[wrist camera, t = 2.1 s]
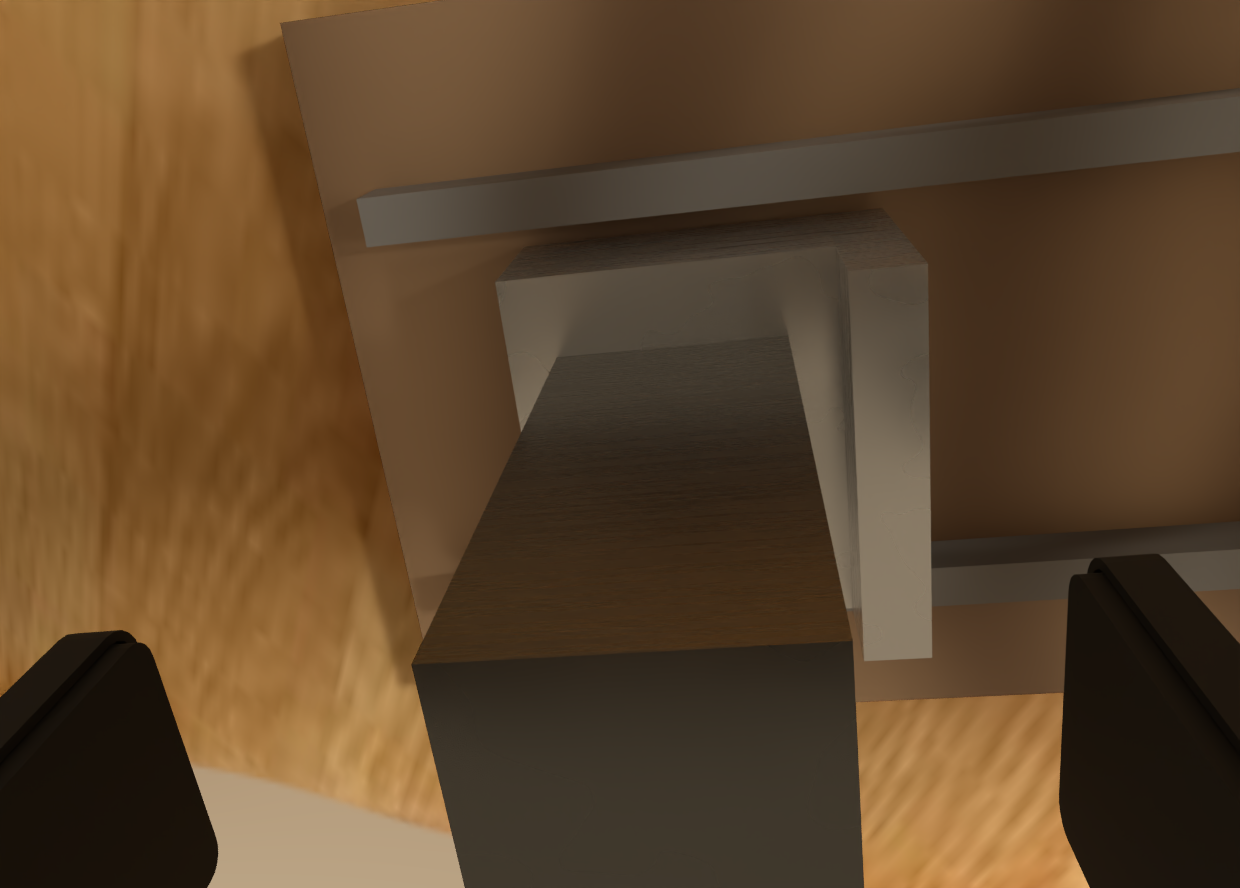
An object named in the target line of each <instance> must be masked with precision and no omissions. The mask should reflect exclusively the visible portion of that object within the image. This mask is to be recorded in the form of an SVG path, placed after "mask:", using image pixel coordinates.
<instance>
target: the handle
mask: <svg viewBox="0 0 1240 888" xmlns="http://www.w3.org/2000/svg"><path fill="white" fill-rule="evenodd" d="M495 285H496V291H497V297H498V302H499V308H500V314H501V320H502V325H503V331H504V337H505V343H506V348H507V354H508V360H509V366H510V371H511V377H512V383H513V389H514V394H515V400H516V406H517V412H518V418H519V423H520V429H521V434H520V436H519V438H518V440H517V442H516V444H515V447H514V449H513V451H512V453H511V455H510V457H509V459H508V461H507V464H506V466H505V468H504V470H503V472H502V474H501V476H500V478H499V480H498V483H497V485H496V487H495V489H494V491H493V493H492V495H491V497H490V499H489V502H488V504H487V506H486V508H485V510H484V512H483V514H482V516H481V519H480V521H479V523H478V525H477V527H476V529H475V531H474V533H473V535H472V538H471V540H470V542H469V544H468V546H467V548H466V550H465V552H464V555H463V557H462V559H461V561H460V563H459V565H458V567H457V569H456V571H455V574H454V576H453V578H452V580H451V582H450V584H449V586H448V588H447V591H446V593H445V595H444V597H443V599H442V601H441V603H440V605H439V607H438V610H437V612H436V614H435V616H434V618H433V620H432V622H431V624H430V626H429V629H428V631H427V633H426V635H425V637H424V639H423V641H422V643H421V646H420V648H419V650H418V652H417V654H416V656H415V658H414V660H413V662H412V669H413V673H414V677H415V681H416V685H417V690H418V694H419V698H420V702H421V706H422V710H423V715H424V719H425V723H426V727H427V731H428V735H429V740H430V744H431V748H432V752H433V756H434V761H435V765H436V769H437V773H438V777H439V781H440V786H441V790H442V794H443V798H444V802H445V807H446V811H447V815H448V819H449V823H450V827H451V832H452V836H453V840H454V844H455V848H456V852H457V857H458V861H459V865H460V869H461V873H462V878H463V882H464V886H465V888H864V877H863V855H862V833H861V811H860V788H859V766H858V744H857V722H856V699H855V677H854V655H853V639H852V634H851V630H850V625H849V620H848V615H847V611H846V608H852V609H853V613H854V618H855V622H856V627H857V631H858V636H859V640H860V645H861V649H862V654H863V658H864V661H879V660H898V659H918V658H932V595H931V500H930V406H929V311H928V263H927V262H926V260H925V259H924V258H923V257H922V256H921V254H920V253H919V252H918V251H917V249H916V248H915V247H914V246H913V245H912V243H911V242H910V241H909V240H908V239H907V237H906V236H905V235H904V234H903V232H902V231H901V230H900V229H899V228H898V226H897V225H896V224H895V223H894V222H893V220H892V219H891V218H890V217H889V216H888V214H887V213H886V212H885V211H884V209H883V208H879V209H870V210H861V211H851V212H842V213H833V214H823V215H814V216H805V217H795V218H786V219H777V220H767V221H758V222H749V223H740V224H730V225H721V226H712V227H702V228H693V229H684V230H674V231H665V232H656V233H646V234H637V235H628V236H618V237H609V238H600V239H591V240H581V241H572V242H563V243H553V244H544V245H535V246H525V247H524V248H523V249H522V250H521V251H520V253H519V254H518V255H517V256H516V257H515V259H514V260H513V261H512V262H511V263H510V265H509V266H508V267H507V268H506V269H505V271H504V272H503V273H502V274H501V275H500V277H499V278H498V279H497V280H496V281H495Z"/></svg>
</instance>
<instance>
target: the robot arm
mask: <svg viewBox="0 0 1240 888" xmlns="http://www.w3.org/2000/svg"><path fill="white" fill-rule="evenodd" d="M1059 805H1060V813H1061V818H1062V823H1063V827H1064V830H1065V833H1066V836H1067V839H1068V841H1069V843H1070V845H1071V848H1072V850H1073V852H1074V854H1075V856H1076V859H1077V861H1078V863H1079V865H1080V867H1081V869H1082V872H1083V874H1084V876H1085V878H1086V880H1087V882H1088V885H1089V887H1090V888H1240V643H1239V642H1238V641H1237V640H1236V639H1235V638H1234V637H1233V636H1232V634H1231V633H1230V632H1229V631H1228V630H1227V629H1226V628H1225V626H1224V625H1223V624H1222V623H1221V622H1220V621H1219V620H1218V619H1217V617H1216V616H1215V615H1214V614H1213V613H1212V612H1211V611H1210V609H1209V608H1208V607H1207V606H1206V605H1205V604H1204V603H1203V601H1202V600H1201V599H1200V598H1199V597H1198V596H1197V595H1196V594H1195V592H1194V591H1193V590H1192V589H1191V588H1190V587H1189V586H1188V584H1187V583H1186V582H1185V581H1184V580H1183V579H1182V578H1181V577H1180V575H1179V574H1178V573H1177V572H1176V571H1175V570H1174V569H1173V567H1172V566H1171V565H1170V564H1169V563H1168V562H1167V561H1166V559H1165V558H1163V557H1162V556H1161V555H1159V554H1139V555H1126V556H1112V557H1099V558H1094V559H1093V560H1092V561H1091V562H1090V565H1089V567H1088V571H1087V574H1074V575H1073V576H1072V577H1071V580H1070V582H1069V590H1068V611H1067V633H1066V655H1065V677H1064V699H1063V721H1062V744H1061V766H1060V788H1059ZM217 858H218V844H217V840H216V837H215V833H214V830H213V828H212V825H211V822H210V819H209V816H208V813H207V810H206V807H205V804H204V801H203V799H202V796H201V793H200V790H199V787H198V784H197V781H196V778H195V776H194V773H193V770H192V767H191V764H190V761H189V758H188V755H187V752H186V749H185V747H184V744H183V741H182V738H181V735H180V732H179V729H178V726H177V723H176V721H175V718H174V715H173V712H172V709H171V706H170V703H169V700H168V697H167V695H166V692H165V689H164V686H163V683H162V680H161V677H160V674H159V671H158V669H157V666H156V663H155V660H154V657H153V655H152V653H151V651H150V649H149V648H148V647H147V646H146V645H145V644H143V643H137V641H136V639H135V638H134V637H133V636H132V635H131V634H130V633H128V632H126V631H123V630H117V631H104V632H91V633H77V634H70V635H66V636H65V637H63V638H62V639H60V640H59V641H58V642H57V643H56V644H55V645H54V646H53V647H52V648H51V649H50V650H49V651H48V652H47V653H46V654H45V655H43V656H42V657H41V658H40V659H39V660H38V661H37V662H36V663H35V664H34V665H33V666H32V667H31V668H30V669H29V670H28V671H27V672H26V673H25V674H24V675H23V676H22V677H21V678H20V679H19V680H18V681H17V682H16V683H15V684H14V685H13V686H12V687H11V688H10V689H9V690H8V691H7V692H5V693H4V694H3V695H2V696H1V697H0V888H207V887H208V885H209V883H210V882H211V880H212V877H213V875H214V873H215V870H216V866H217V860H218V859H217Z"/></svg>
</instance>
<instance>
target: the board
mask: <svg viewBox="0 0 1240 888" xmlns="http://www.w3.org/2000/svg"><path fill="white" fill-rule="evenodd" d="M280 24H281V29H282V33H283V37H284V42H285V46H286V50H287V55H288V59H289V63H290V68H291V72H292V76H293V81H294V85H295V89H296V94H297V98H298V102H299V106H300V111H301V115H302V119H303V124H304V128H305V132H306V137H307V141H308V145H309V150H310V154H311V158H312V163H313V167H314V171H315V175H316V180H317V184H318V188H319V193H320V197H321V201H322V206H323V210H324V214H325V219H326V223H327V227H328V232H329V236H330V240H331V245H332V249H333V253H334V257H335V262H336V266H337V270H338V275H339V279H340V283H341V288H342V292H343V296H344V301H345V305H346V309H347V314H348V318H349V322H350V327H351V331H352V335H353V339H354V344H355V348H356V352H357V357H358V361H359V365H360V370H361V374H362V378H363V383H364V387H365V391H366V396H367V400H368V404H369V409H370V413H371V417H372V421H373V426H374V430H375V434H376V439H377V443H378V447H379V452H380V456H381V460H382V465H383V469H384V473H385V478H386V482H387V486H388V490H389V495H390V499H391V503H392V508H393V512H394V516H395V521H396V525H397V529H398V534H399V538H400V542H401V547H402V551H403V555H404V560H405V564H406V568H407V572H408V577H409V581H410V585H411V590H412V594H413V598H414V603H415V607H416V611H417V616H418V620H419V624H420V629H421V633H422V637H423V639H424V637H425V635H426V633H427V631H428V629H429V626H430V624H431V622H432V620H433V618H434V616H435V614H436V612H437V610H438V607H439V605H440V603H441V601H442V599H443V597H444V595H445V593H446V591H447V588H448V586H449V584H450V582H451V580H452V578H453V576H454V574H455V571H456V569H457V567H458V565H459V563H460V561H461V559H462V557H463V555H464V552H465V550H466V548H467V546H468V544H469V542H470V540H471V538H472V535H473V533H474V531H475V529H476V527H477V525H478V523H479V521H480V519H481V516H482V514H483V512H484V510H485V508H486V506H487V504H488V502H489V499H490V497H491V495H492V493H493V491H494V489H495V487H496V485H497V483H498V480H499V478H500V476H501V474H502V472H503V470H504V468H505V466H506V464H507V461H508V459H509V457H510V455H511V453H512V451H513V449H514V447H515V444H516V442H517V440H518V438H519V436H520V434H521V429H520V423H519V418H518V412H517V406H516V400H515V394H514V389H513V383H512V377H511V371H510V366H509V360H508V354H507V348H506V343H505V337H504V331H503V325H502V320H501V314H500V308H499V302H498V297H497V291H496V285H495V281H496V280H497V279H498V278H499V277H500V275H501V274H502V273H503V272H504V271H505V269H506V268H507V267H508V266H509V265H510V263H511V262H512V261H513V260H514V259H515V257H516V256H517V255H518V254H519V253H520V251H521V250H522V249H523V248H524V247H525V246H535V245H544V244H553V243H563V242H572V241H581V240H591V239H600V238H609V237H618V236H628V235H637V234H646V233H656V232H665V231H674V230H684V229H693V228H702V227H712V226H721V225H730V224H740V223H749V222H758V221H767V220H777V219H786V218H795V217H805V216H814V215H823V214H833V213H842V212H851V211H861V210H870V209H879V208H883V209H884V211H885V212H886V213H887V214H888V216H889V217H890V218H891V219H892V220H893V222H894V223H895V224H896V225H897V226H898V228H899V229H900V230H901V231H902V232H903V234H904V235H905V236H906V237H907V239H908V240H909V241H910V242H911V243H912V245H913V246H914V247H915V248H916V249H917V251H918V252H919V253H920V254H921V256H922V257H923V258H924V259H925V260H926V262H927V263H928V311H929V406H930V500H931V595H932V658H918V659H898V660H879V661H864V658H863V654H862V649H861V645H860V640H859V636H858V631H857V627H856V622H855V618H854V613H853V609H852V608H846V611H847V615H848V620H849V625H850V630H851V634H852V639H853V655H854V677H855V699H856V702H870V701H892V700H914V699H935V698H957V697H979V696H1001V695H1022V694H1044V693H1064V677H1065V655H1066V633H1067V611H1068V590H1069V582H1070V580H1071V577H1072V576H1073V575H1074V574H1087V571H1088V567H1089V565H1090V562H1091V561H1092V560H1093V559H1094V558H1099V557H1112V556H1126V555H1139V554H1159V555H1161V556H1162V557H1163V558H1165V559H1166V561H1167V562H1168V563H1169V564H1170V565H1171V566H1172V567H1173V569H1174V570H1175V571H1176V572H1177V573H1178V574H1179V575H1180V577H1181V578H1182V579H1183V580H1184V581H1185V582H1186V583H1187V584H1188V586H1189V587H1190V588H1191V589H1192V590H1193V591H1194V592H1195V594H1196V595H1197V596H1198V597H1199V598H1200V599H1201V600H1202V601H1203V603H1204V604H1205V605H1206V606H1207V607H1208V608H1209V609H1210V611H1211V612H1212V613H1213V614H1214V615H1215V616H1216V617H1217V619H1218V620H1219V621H1220V622H1221V623H1222V624H1223V625H1224V626H1225V628H1226V629H1227V630H1228V631H1229V632H1230V633H1231V634H1232V636H1233V637H1234V638H1235V639H1236V640H1237V641H1238V642H1239V643H1240V0H440V1H433V2H426V3H419V4H412V5H404V6H397V7H390V8H383V9H376V10H369V11H362V12H355V13H348V14H341V15H334V16H327V17H319V18H312V19H305V20H298V21H291V22H284V23H280Z"/></svg>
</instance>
